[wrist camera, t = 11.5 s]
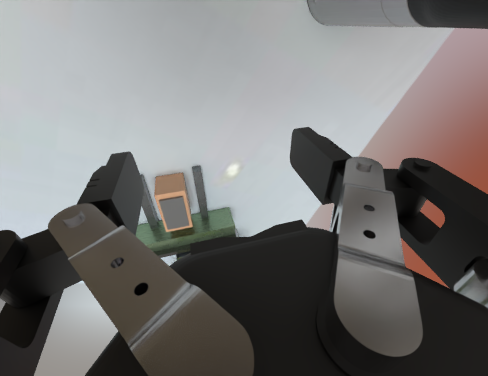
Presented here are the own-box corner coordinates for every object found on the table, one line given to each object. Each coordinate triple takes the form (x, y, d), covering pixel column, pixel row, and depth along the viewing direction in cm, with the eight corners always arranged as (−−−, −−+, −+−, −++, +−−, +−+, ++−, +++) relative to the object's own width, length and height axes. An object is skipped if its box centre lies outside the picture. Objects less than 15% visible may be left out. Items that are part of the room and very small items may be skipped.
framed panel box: (182, 172, 43) (184, 192, 38) (190, 207, 48) (192, 228, 43) (155, 176, 42) (154, 197, 37) (166, 211, 47) (166, 234, 42)
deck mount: (225, 161, 44) (233, 182, 38) (229, 217, 53) (237, 240, 48) (103, 180, 40) (93, 206, 34) (131, 237, 49) (126, 265, 43)
